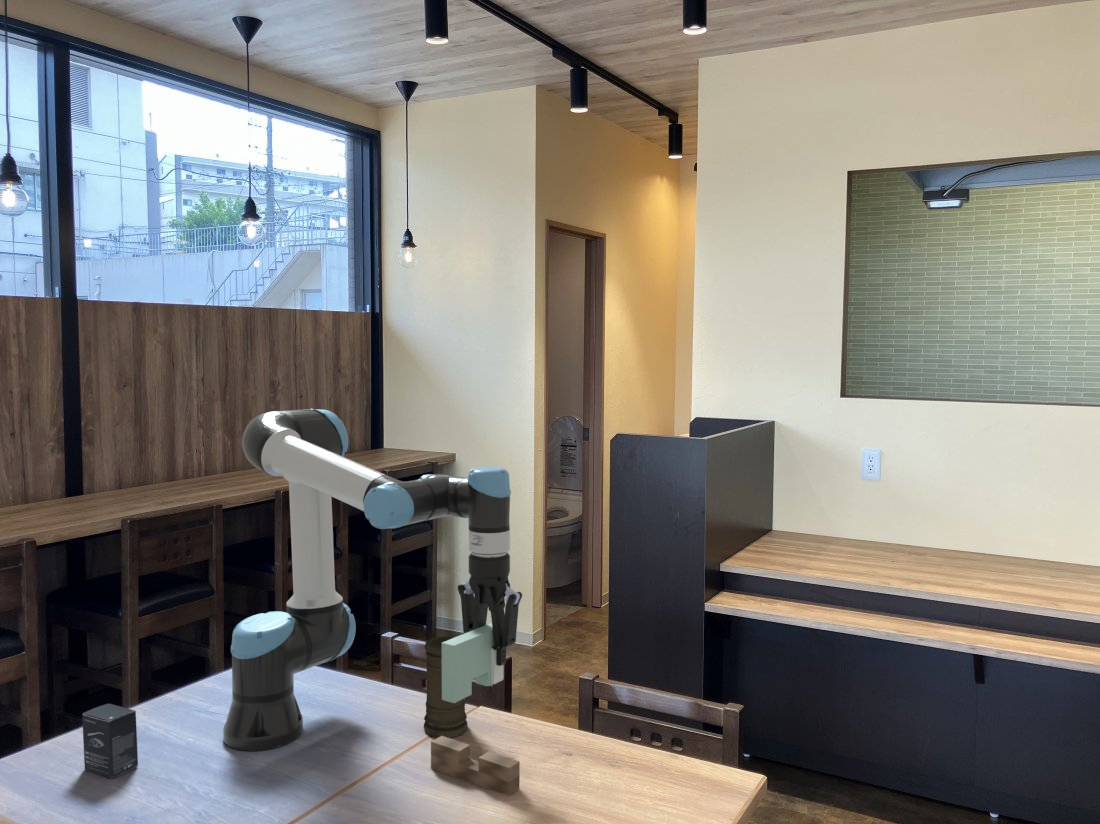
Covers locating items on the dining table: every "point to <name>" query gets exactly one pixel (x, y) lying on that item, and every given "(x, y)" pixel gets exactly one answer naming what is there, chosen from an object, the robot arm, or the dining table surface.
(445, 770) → the slotted rail
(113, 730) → the box
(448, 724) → the container
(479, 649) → the plate
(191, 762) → the dining table surface
